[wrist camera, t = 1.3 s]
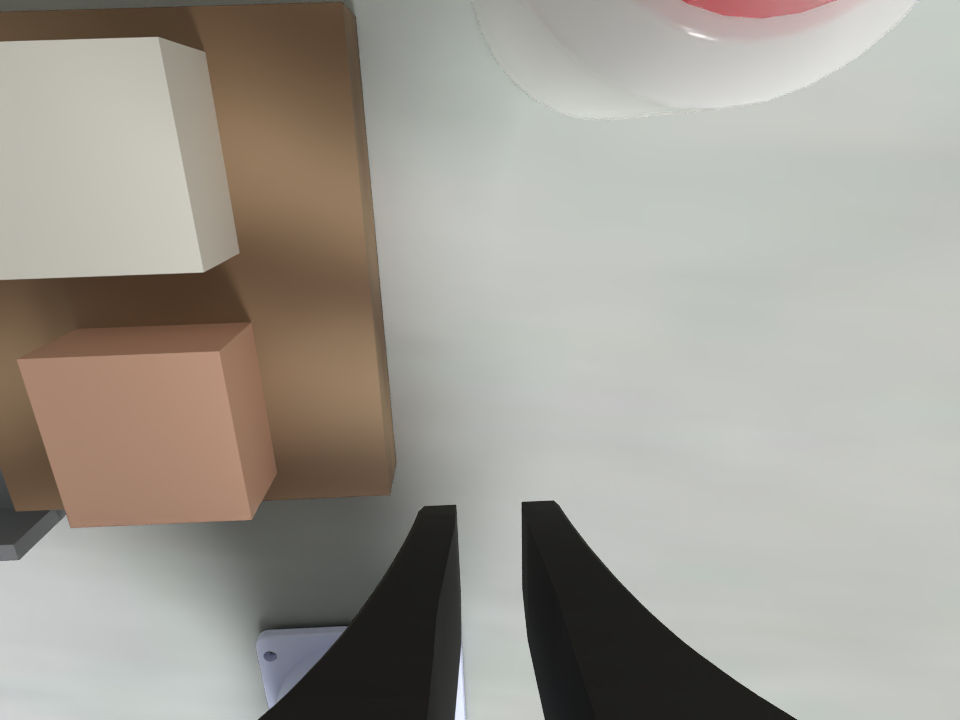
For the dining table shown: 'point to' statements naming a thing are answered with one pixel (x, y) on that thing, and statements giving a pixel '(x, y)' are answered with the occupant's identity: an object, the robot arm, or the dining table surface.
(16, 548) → the tray
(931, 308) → the dining table surface
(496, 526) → the dining table surface
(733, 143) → the dining table surface
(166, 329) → the tile terracotta
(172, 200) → the tile cream
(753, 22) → the pill bottle
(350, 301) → the board
